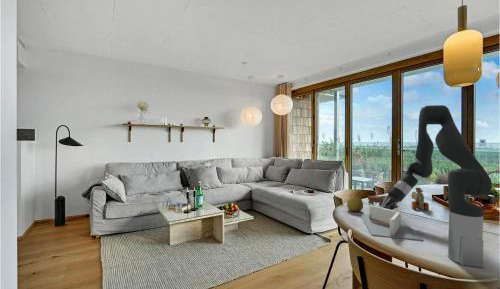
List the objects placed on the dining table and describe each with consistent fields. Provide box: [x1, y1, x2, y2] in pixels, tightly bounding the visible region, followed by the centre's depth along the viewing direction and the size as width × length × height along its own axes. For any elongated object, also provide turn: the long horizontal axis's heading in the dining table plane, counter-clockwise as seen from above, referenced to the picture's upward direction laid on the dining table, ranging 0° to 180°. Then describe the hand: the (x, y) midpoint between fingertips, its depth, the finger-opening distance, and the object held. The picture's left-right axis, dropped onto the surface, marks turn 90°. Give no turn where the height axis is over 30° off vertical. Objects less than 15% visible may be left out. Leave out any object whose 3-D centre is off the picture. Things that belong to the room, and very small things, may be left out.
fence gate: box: [368, 204, 397, 224], centre depth 127 cm, size 14×2×7 cm, turn 32°
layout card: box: [359, 213, 425, 242], centre depth 122 cm, size 32×20×1 cm, turn 164°
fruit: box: [346, 191, 364, 213], centre depth 148 cm, size 9×9×12 cm
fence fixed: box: [390, 211, 402, 236], centre depth 114 cm, size 16×2×8 cm, turn 139°
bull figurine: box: [367, 194, 388, 206], centre depth 157 cm, size 4×13×8 cm, turn 78°
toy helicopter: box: [411, 187, 430, 211], centre depth 157 cm, size 8×21×14 cm, turn 159°
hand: (377, 213), depth 130 cm, fingers closed
